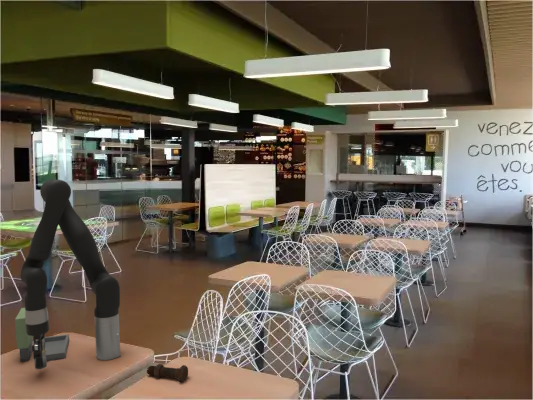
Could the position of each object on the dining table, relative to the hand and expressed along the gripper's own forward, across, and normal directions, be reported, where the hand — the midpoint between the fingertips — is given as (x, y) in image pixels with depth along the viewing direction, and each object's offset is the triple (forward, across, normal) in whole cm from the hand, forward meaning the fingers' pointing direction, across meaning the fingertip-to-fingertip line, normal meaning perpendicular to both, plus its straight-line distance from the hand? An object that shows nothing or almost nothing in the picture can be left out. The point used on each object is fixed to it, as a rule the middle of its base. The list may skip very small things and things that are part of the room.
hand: (40, 364), depth 170 cm
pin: (+1, 0, 0) cm, 1 cm away
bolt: (+5, -18, -44) cm, 47 cm away
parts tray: (+4, +22, -2) cm, 22 cm away
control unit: (+4, +20, +8) cm, 22 cm away
